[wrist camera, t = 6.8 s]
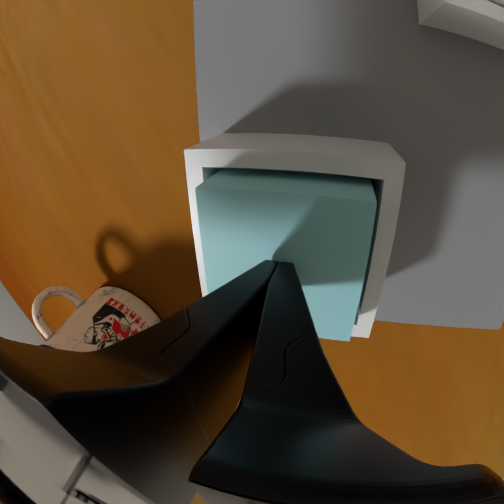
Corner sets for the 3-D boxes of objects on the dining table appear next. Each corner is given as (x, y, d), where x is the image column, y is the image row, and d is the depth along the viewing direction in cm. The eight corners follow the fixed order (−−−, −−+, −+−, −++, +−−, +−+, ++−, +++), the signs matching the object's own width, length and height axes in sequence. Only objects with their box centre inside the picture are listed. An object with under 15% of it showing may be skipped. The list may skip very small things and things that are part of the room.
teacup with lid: (192, 347, 25) (127, 460, 15) (138, 362, 29) (82, 446, 20) (99, 238, 22) (-9, 331, 12) (63, 277, 26) (-14, 351, 17)
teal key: (368, 172, 10) (377, 202, 7) (351, 290, 12) (349, 341, 10) (230, 162, 11) (194, 187, 8) (237, 275, 13) (211, 319, 11)
